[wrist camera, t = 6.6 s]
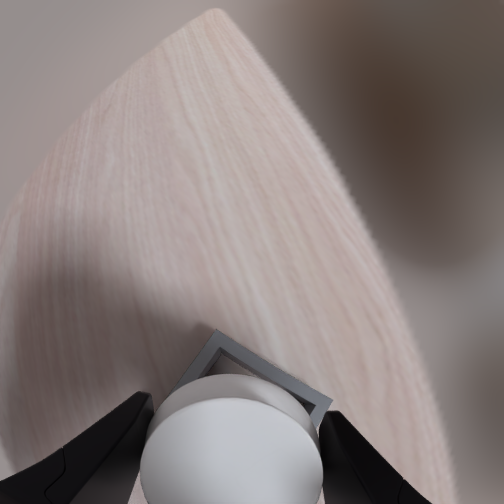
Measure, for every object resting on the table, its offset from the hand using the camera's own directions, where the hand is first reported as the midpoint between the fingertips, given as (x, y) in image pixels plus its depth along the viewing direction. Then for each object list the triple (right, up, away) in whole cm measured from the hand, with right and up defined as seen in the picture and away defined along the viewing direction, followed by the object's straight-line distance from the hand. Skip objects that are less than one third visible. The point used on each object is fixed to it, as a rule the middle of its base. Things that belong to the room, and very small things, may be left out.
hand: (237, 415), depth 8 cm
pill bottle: (-1, -4, +5) cm, 7 cm away
